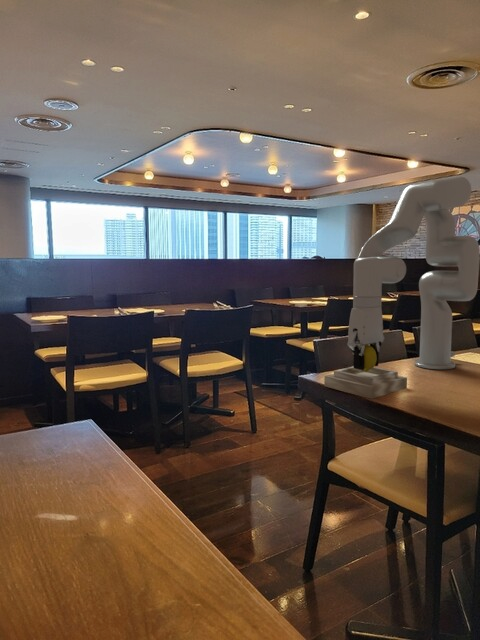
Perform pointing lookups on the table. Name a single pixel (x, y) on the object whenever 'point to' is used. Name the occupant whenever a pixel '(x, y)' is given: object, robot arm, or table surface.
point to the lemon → (369, 358)
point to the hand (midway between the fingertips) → (366, 366)
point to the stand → (366, 381)
